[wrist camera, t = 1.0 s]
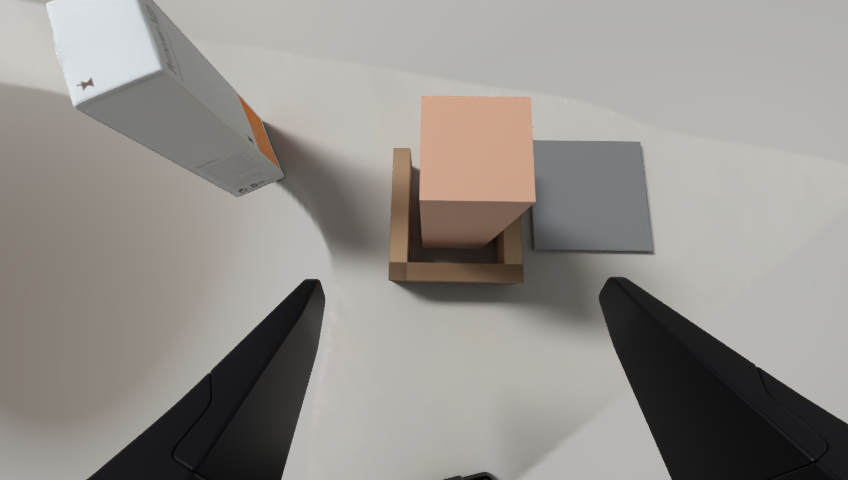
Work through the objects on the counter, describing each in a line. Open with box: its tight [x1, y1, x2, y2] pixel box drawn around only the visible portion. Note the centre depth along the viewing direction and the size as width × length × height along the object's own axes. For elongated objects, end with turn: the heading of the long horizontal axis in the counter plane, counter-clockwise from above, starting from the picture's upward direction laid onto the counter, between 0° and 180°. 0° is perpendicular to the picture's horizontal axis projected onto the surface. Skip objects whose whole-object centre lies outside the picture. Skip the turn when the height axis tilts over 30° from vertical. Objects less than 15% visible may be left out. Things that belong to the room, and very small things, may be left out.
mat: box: [531, 140, 653, 252], centre depth 24 cm, size 9×9×1 cm
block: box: [419, 96, 536, 249], centre depth 18 cm, size 5×5×12 cm
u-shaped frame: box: [389, 148, 523, 284], centre depth 23 cm, size 10×9×3 cm
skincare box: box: [46, 0, 284, 197], centre depth 20 cm, size 6×4×12 cm
